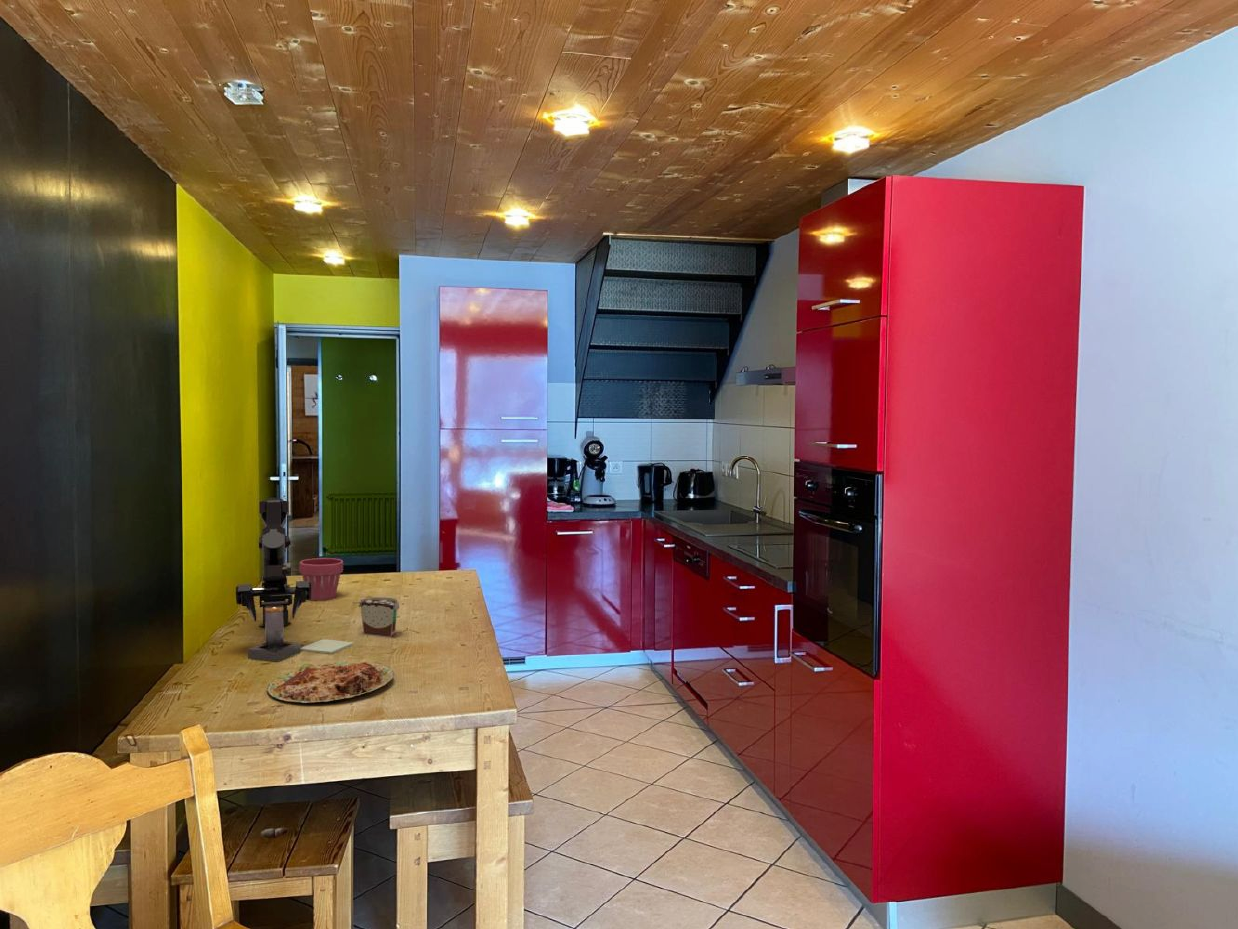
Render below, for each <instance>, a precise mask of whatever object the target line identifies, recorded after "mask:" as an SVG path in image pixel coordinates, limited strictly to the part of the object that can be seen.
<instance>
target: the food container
mask: <svg viewBox="0 0 1238 929" xmlns="http://www.w3.org/2000/svg"><path fill="white" fill-rule="evenodd" d="M358 607H359V608H360V613H361V622H362V631H363V632H362V634H363V636H365V635H366V636H372V637H373V636H375V637H380V638H381V637H382V638H389V637H390V638H394V637H395V636H394V635H395V634H396V626H397V625H396V623H397V613H398V610H399V609H400V605H399V601H398V599H397V598H394V597H385V596H384V597H383V596H382V597H381V596H380V597H378V596H377V597H376V596H375V597H367V598H363V599H360V600H359V604H358ZM393 636H394V637H393Z"/></svg>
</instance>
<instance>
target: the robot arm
mask: <svg viewBox="0 0 1238 929" xmlns="http://www.w3.org/2000/svg"><path fill="white" fill-rule="evenodd" d="M289 502H290V501H288V500H285V499H283V498H280V497H270V498H269V497H268V498H266V499H264V500H261V501H259V502H258V507H259V508H258V510H259V511H258V515H259V516H261V523H262V525H264V528H262V529H261V536H258V550H261V554H262V577H261V586H259V588H258V587H257V588H253V584H252V583H246V584H244V583H243V584H237V585H236V586H235V599H236V601H235V602H236V604H237V605H241V607H246V609H247V610H248V611H249V613H250V615H251V617H252V619H253V621H254V622H257V610H256V605H255V597H259V608H262V623H261V624H259V625H258V627H260V628H265V606H268V605H283V609H284V610H283V627H286V626H288V625H291V624H292V622H291V621H289V609H288V607H289V606H291V605H292V611H291V612H292V614H291V618H292V619H293V620H294V619H295V617H296V615H297V613H298V610H299V609H300V607H301V605H302V604H303V603H304V604H305V603H306V602H307V601H310V600H309V599H311V582H310V581H303V580H300V581H299V580H298V581H297V580H296V581H295V586H291V585H290V584H288V578H287V577H291V576H292V563H291V562H286V554H285V553H286V549H289V547H290V546H291V545H292V541H291V539H290V537H289V535H286V528H284V525H285V524H286V522H287V516H289V515H290V510H289V508H290V507H289V506H290V505H289Z"/></svg>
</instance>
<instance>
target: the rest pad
mask: <svg viewBox="0 0 1238 929" xmlns="http://www.w3.org/2000/svg"><path fill="white" fill-rule="evenodd" d="M354 645H355V641H353V642H352V641H345V640H344V641H343V640H334V639H324V638H322V639H320V640H318V641H315V642H312V643H310V644H307V645H304V646H302V647H301V652H307V653H316V652H319V653H318V654H325V653H329V654H328V655H333V654H335V653H338V652H340V651H342V650H345V649H347V648H349V646H350V647H351V646H354ZM332 653H333V654H332Z"/></svg>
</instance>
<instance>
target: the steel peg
mask: <svg viewBox="0 0 1238 929" xmlns="http://www.w3.org/2000/svg"><path fill="white" fill-rule="evenodd" d="M283 610H284V609H283V605H268V606H265V627H264V629H265V630H264V632H265V635H264V636H265V638H264V639H265V640H264V641H265V642H264V643H265V644H266V649H272V650H278V649H280V648H283V647H284V642H285V641H284V640H285V639H284V638H285V637H284V636H285V635H284V627H285V626H283Z"/></svg>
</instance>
